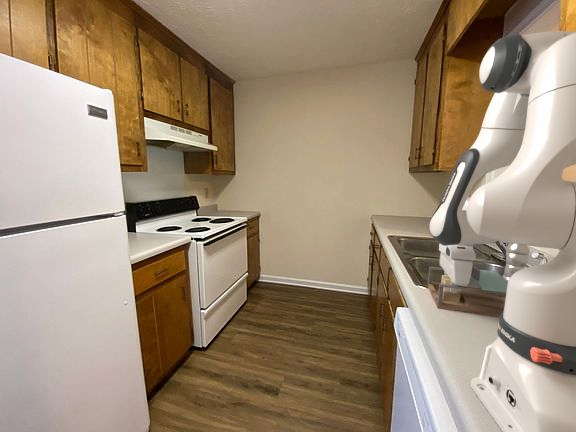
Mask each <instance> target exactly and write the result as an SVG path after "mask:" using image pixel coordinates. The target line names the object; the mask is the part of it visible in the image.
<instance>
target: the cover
mask: <svg viewBox="0 0 576 432" xmlns="http://www.w3.org/2000/svg"><path fill="white" fill-rule="evenodd" d="M470 280H472V281H473V282H474V283H475V284H476V285H477V286H478V287H479V288H481V289H482V290H489V291H497V292H505V293H506V292H507V285H508V281H507V280H505V279H504V278H503V276H501V274H499V273H498V272H497V271H494V270H489V269H488V270H487V269H479V268H478V267H476V266H475V264H473V266H472V273H471V278H470Z"/></svg>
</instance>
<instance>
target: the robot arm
mask: <svg viewBox="0 0 576 432" xmlns="http://www.w3.org/2000/svg"><path fill="white" fill-rule="evenodd" d="M478 75H479V76H478V77H479V78H478V79H479V80H478V81H479V85H480V87H481V88H482V89H483V90H484V91H486V92H491V93H494V94H493V96H492V98H491V99H490V102H489V105H488V107H487V109H486V111H485V115H484V118H483V121H482V124H481V128H480V131H479V134H478V136H477V138H476V140H475V141H474V143H473V144H472V145H471V146H470V148H469V149H467V150H465V151H464V152H463V153H462V154H461V155H460V156H459V158H458V160H457V162H456V164H455V167H454V169H453V170H452V173H451V175H450V178H449V179H448V182H447V184H446V187H445V190H444V192H443V194H442V197H441V199H440V201H439V204H438V206H437V208H436V209H435V210H434V212H433V214H432V216H431V217H430V220H429V223H428V231H429V234H430V235H431V237H432V238H433V240H435V241H436V242H437V243H438V244H439V245H438V250H439V252H440V254H439V255H440V256H439V266H440V268H443V270H444V271H443V272H444V275H446V276H449V278H450V279H451V285H456V286H459V285H460V286H465V287H468V286H469V284H470V281H471V273H472V266H473V265H474V264H473V261H475V260H476V258H477V255H476V252H475V250H474V245H491V244H496V243H497V242H502V243H505V244H509V243H510V244H519V245H527V246H528V247H529V246H530V247H537V248H544V249H552V250H553V249H554V250H559V251H558V253H557V254H556V255H555V257H553V258H552V259H551V260H548V261H547V262H543V263H542V264H537V265H531V266H527V267H525V268H523V269H521V270H519V271H517V272H515V273H514V274H513V275H512V276H511V277H510V278H509V280H508V285H507V292H506V295H505V300H504V301H505V305H504V312H503V313H502V314H501V315H500V318H498V321H497V337H496V339H494V341H493V342H492V343H490V344H488V346H486V349H485V353H484V356H483V359H482V360H483V361H482V365H481V369H480V373H479V376H476V377H473V378H471V379H470V380H471V381H470V384H469V385H470V388H471V389H472V390H473V391H474V393H475V395H477V397H478V398H479V400H480V402H481V403H482V404H483V405H484V407H485V408H486V410H487V411H488V413H489V414H490V415H491V417H492V418H493V420H494V421H495V422H496V423H497V425H498V426H499V428H500V429H501V431H502V432H576V181H570V180H564V179H563V173H564V169H566V168H569V167H572V166H575V165H576V30H571V31H570V30H569V31H568V30H566V31H564V30H563V31H562V30H549V31H542V32H541V31H540V32H532V33H528V34H523V35H521V34H520V33H516V34H512V35H511V34H510V35H507V36H504V37H501V38H498V39H497V40H495V42H494V43H492V44H491V46H490V47H489V48H488V49H487V52H486V53H485V55H484V57H483V58H482V60H481V63H480V66H479V71H478ZM505 167H507V168H506V169H505V170H504V171H502V173H500V174H499V175H497V176H496V177H495V178H493V179H492V180H490V181H488V182H485V183H483V184H482V185H481V186H479V187H478V188H477V189H476V190H475V191H474V192H473V193H472V195H470V193H471V191H472V188H473V186H474V184H476V182H477V181H478V180H479V179H480V178H481V177H484V176H485V175H487V174H488V173H491V172H493V171H496V170H499V169H502V168H505ZM449 290H450V292H451V293H457V289H455V288H450V289H449Z"/></svg>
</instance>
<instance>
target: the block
mask: <svg viewBox="0 0 576 432" xmlns="http://www.w3.org/2000/svg"><path fill="white" fill-rule="evenodd" d="M440 284H448V285H451V279H450V278H449V276H446V275H445V274H444V275H443V274H442V275H441V282H440ZM459 286H460V285H459ZM449 289H450V288H447V287H444V290H443V299H442V300H443V301H448V302H455V303H459V301H460V292H461V289H457V293H451V292H450V290H449Z"/></svg>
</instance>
